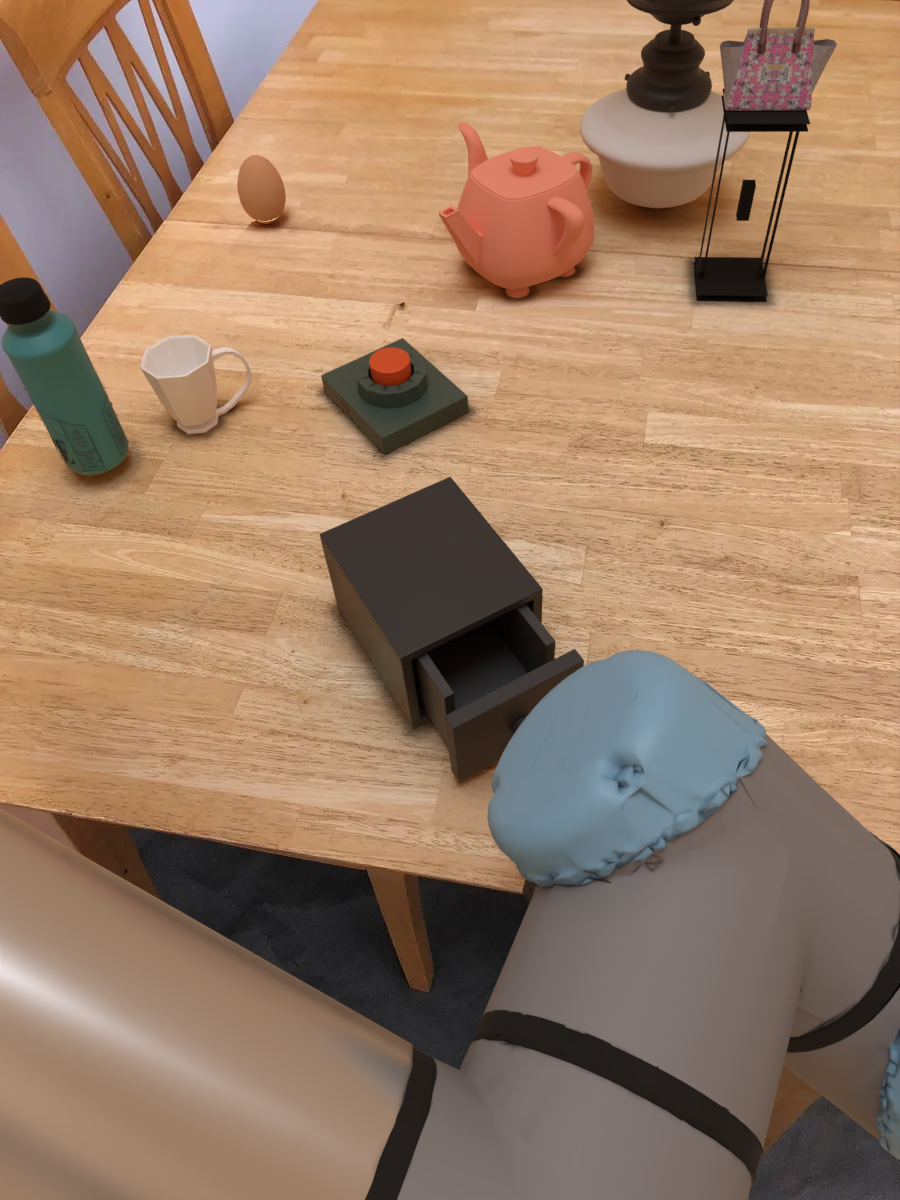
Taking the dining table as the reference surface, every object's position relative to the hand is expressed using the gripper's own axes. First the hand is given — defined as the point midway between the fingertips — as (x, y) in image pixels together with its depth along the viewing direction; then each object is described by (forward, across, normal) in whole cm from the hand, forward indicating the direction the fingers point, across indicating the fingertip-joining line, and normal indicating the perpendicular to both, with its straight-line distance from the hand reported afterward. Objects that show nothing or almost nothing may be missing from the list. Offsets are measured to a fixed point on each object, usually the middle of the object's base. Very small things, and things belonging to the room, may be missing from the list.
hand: (518, 780), depth 62 cm
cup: (+42, -4, +34) cm, 54 cm away
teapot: (+45, +36, +38) cm, 69 cm away
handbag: (+34, +54, +26) cm, 69 cm away
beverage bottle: (+41, -16, +33) cm, 55 cm away
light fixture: (+47, +58, +39) cm, 84 cm away
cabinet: (+16, +2, +8) cm, 18 cm away
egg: (+64, +15, +57) cm, 87 cm away
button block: (+35, +13, +28) cm, 47 cm away
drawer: (+10, +3, +4) cm, 11 cm away
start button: (+33, +13, +31) cm, 47 cm away
